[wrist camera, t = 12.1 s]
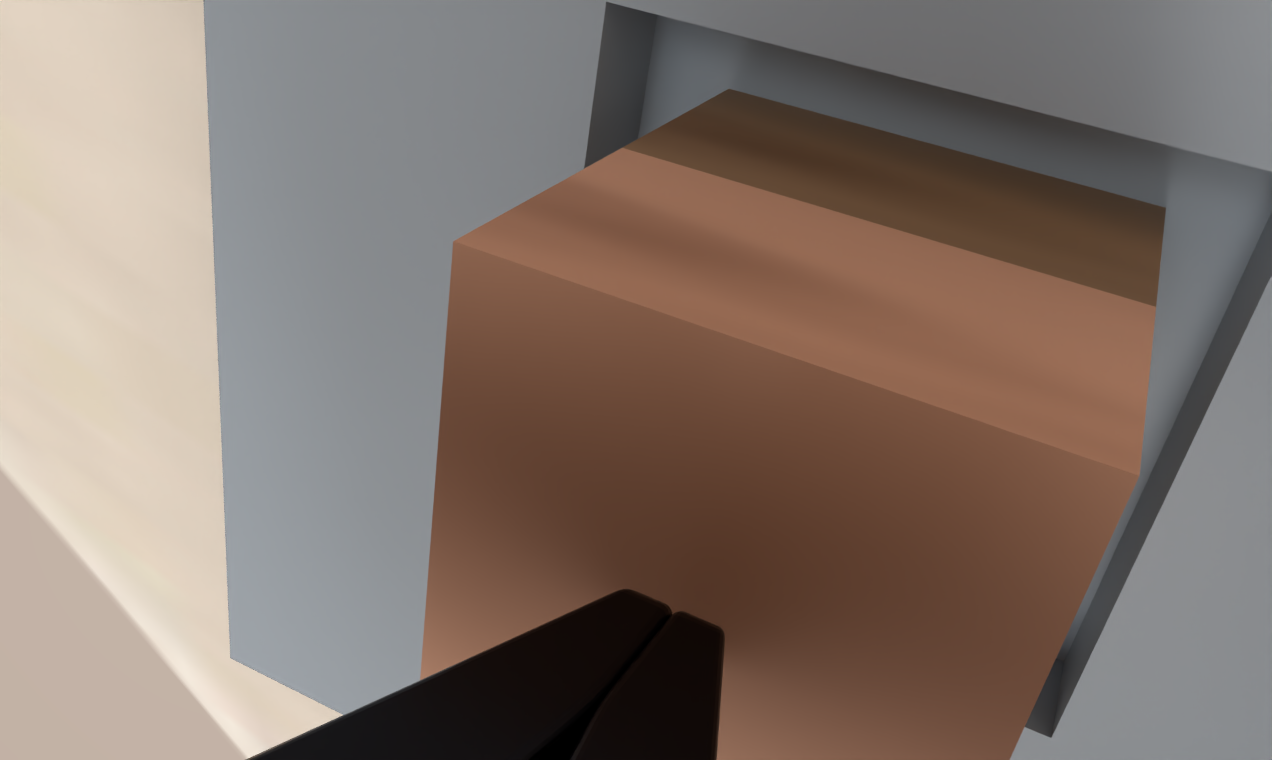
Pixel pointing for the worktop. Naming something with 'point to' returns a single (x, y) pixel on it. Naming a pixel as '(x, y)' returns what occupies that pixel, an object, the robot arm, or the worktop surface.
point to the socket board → (627, 110)
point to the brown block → (800, 420)
